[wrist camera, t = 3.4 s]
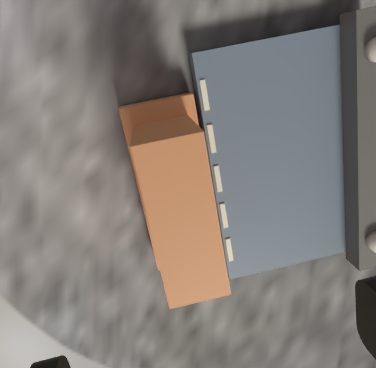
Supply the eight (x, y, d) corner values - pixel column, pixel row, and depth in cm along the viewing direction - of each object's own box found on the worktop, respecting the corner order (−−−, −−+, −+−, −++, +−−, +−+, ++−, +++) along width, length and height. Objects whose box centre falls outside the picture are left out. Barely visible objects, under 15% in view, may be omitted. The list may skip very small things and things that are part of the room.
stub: (119, 106, 19) (110, 124, 13) (190, 92, 19) (212, 103, 14) (157, 260, 23) (163, 328, 17) (217, 246, 23) (243, 308, 17)
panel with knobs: (187, 44, 19) (196, 39, 16) (361, 10, 19) (403, 0, 16) (226, 275, 24) (239, 306, 21) (363, 243, 24) (395, 268, 21)
